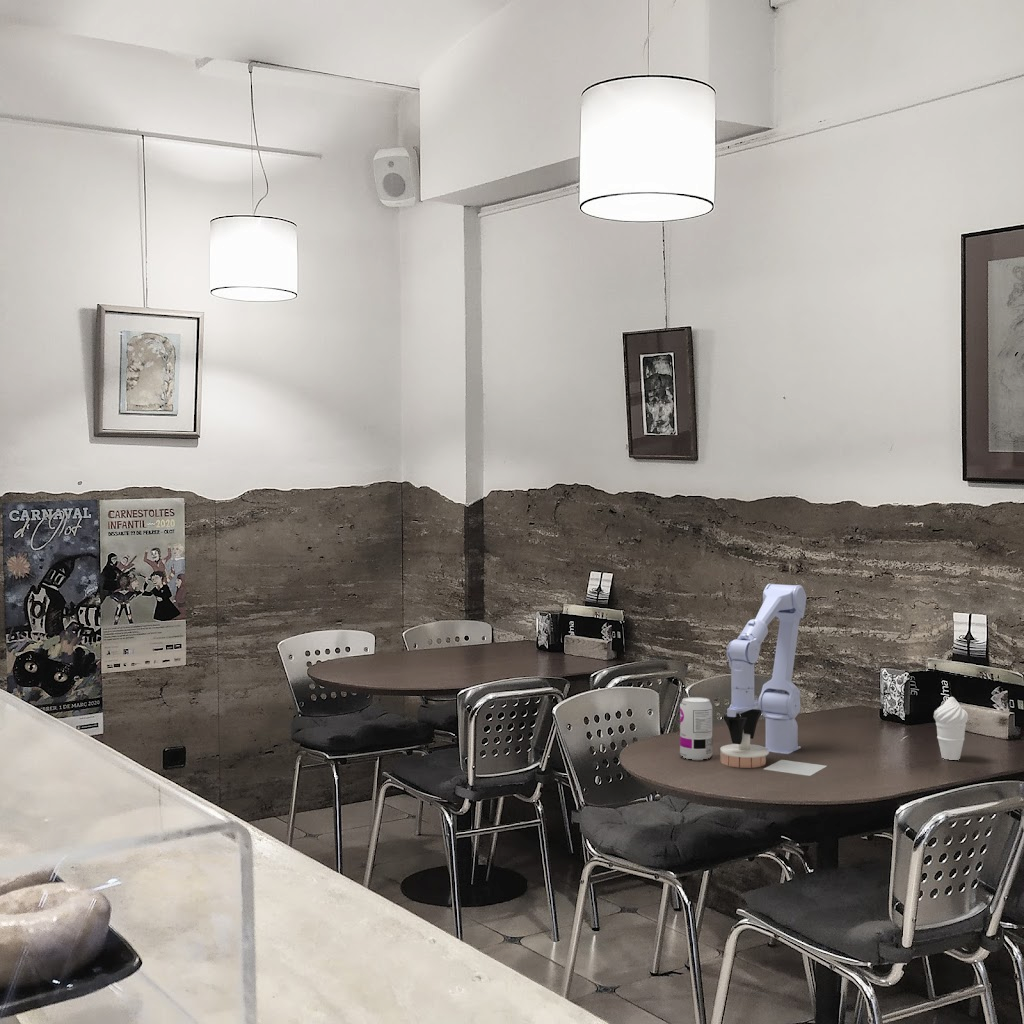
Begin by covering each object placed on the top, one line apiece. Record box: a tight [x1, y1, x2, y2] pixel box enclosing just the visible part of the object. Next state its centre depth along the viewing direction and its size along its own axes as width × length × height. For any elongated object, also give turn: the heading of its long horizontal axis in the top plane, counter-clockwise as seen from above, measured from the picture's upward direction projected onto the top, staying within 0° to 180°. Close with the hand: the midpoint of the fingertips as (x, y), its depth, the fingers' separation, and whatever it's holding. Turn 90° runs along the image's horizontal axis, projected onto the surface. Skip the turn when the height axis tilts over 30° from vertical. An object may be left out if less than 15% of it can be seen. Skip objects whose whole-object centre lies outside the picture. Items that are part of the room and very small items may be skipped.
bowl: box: [719, 752, 767, 769], centre depth 293 cm, size 11×11×3 cm
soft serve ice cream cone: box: [933, 696, 969, 761], centre depth 296 cm, size 8×8×16 cm
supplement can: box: [679, 696, 713, 761], centre depth 300 cm, size 8×8×15 cm
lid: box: [719, 733, 770, 758], centre depth 292 cm, size 12×12×4 cm
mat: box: [763, 759, 828, 777], centre depth 287 cm, size 12×12×1 cm
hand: (742, 740), depth 293 cm, fingers open, 7 cm apart
